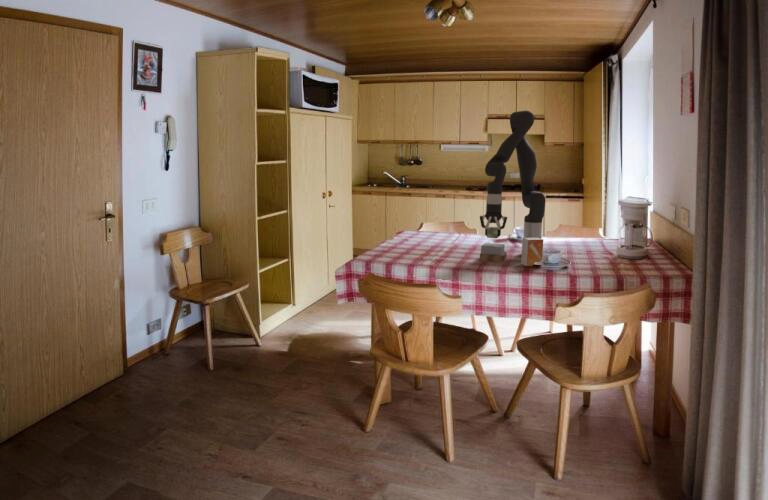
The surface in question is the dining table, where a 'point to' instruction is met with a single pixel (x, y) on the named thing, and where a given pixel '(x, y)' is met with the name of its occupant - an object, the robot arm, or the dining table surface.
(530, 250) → the small box
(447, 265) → the dining table surface
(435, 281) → the dining table surface
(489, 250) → the slate top block
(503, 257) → the walnut base block
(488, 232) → the sage cube
